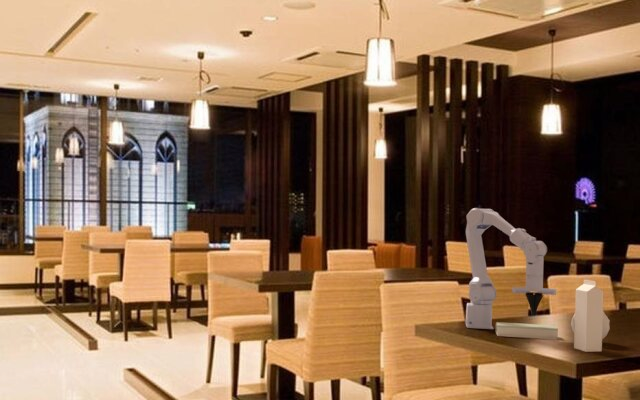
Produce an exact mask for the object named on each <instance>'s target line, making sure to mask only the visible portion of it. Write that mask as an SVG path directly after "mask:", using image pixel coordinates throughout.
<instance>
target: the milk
mask: <svg viewBox="0 0 640 400" xmlns="http://www.w3.org/2000/svg"><path fill="white" fill-rule="evenodd" d="M574 300H575V301H574V302H575V304H574V305H575V307H574V314H575V332H573V334H574V335H573V336H574V337H573V338H574V339H573V349H574V350H575V349H576V350H579V351H582V352H586V353H588V352H591V353H593V352H602V350H603V339H602V323H603V311H604V291H603V290H602V289H601V288H599V287H598V286H597V282H596V281H595V280H591V279H590V280H589V279H583V284H581V285H580V286H578V287H577V288H576V289H575V298H574Z"/></svg>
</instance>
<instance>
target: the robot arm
mask: <svg viewBox="0 0 640 400" xmlns="http://www.w3.org/2000/svg"><path fill="white" fill-rule="evenodd" d="M465 217H466V227H465V236H466V237H465V238H466V243H467V249H468V255H469V261H470V268H471V274H472V278H471V280H470V281H469V283H468V285H469V286H468V287H469V289H468V297H469V300H470V301H471V302H467V303H466V311H465V321H464V322H465V326H466V328H467V329H480V330H481V329H482V330H494V326H493V325H492V321H493V320H492V319H493V304H494V301H495V300H496V297H497V295H498V294H497V290H496V288H495V286H494V282H493V280H492V279H491V277H489V274H488V271H487V263H486V257H485V251H484V244H483V237H482V235H483V233H484V232H485V231H486V230H487V229H489V228H490V227H491V226H494V228H497V229H498V230H500V231H502V233H504V234H505V235H507V236H508V237H509V241H510V242H511V243H512V244H514V245H515V246H516V247H518V248H519V249H521V250H522V252H523V255H524V256H525V261H526V263H525V287H523V286H521V287H520V286H518V287H517V286H513V287H511V288H512V289H511V290H512V294H525V295H524V296H525V297H526V300H527V303H528V305H529V309H530V314H531V315H532V316H536V315H537V311H538V308H539V305H540V303H541V301H542V299H543V298H544V295H552V296H556V295H557V289H556V288H546V287H545V288H544V260H545V259H544V257H545V256H546V254H547V252H548V247H547V245H546V243H544V241H542V240H537V237H534V236H532V235H530V234H529V233H527V230H526V229H524V228H520V227H518V228H515V227H514V226H513V225H512V224H511V223H509V222H508V221H507V220H505V219H504V218H503V217H502V216H501V215H500V214H499V212H497V211H494V210H493V209H491V208H479V207H474V208H471V209H470V210H469V212H468V213H467V214H466V216H465Z"/></svg>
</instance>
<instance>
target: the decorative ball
mask: <svg viewBox="0 0 640 400" xmlns="http://www.w3.org/2000/svg"><path fill="white" fill-rule="evenodd" d="M610 322H611V321H610V319H609V318H608V316H607V315H606V314H605V311H604V310H603V323H602V340H603V339H605V337H606V336H607V335H608V333H609V331H610ZM570 324H571V329H572V332H573V333H574V332H575V313H574V314H573V316H572V318H571V322H570Z"/></svg>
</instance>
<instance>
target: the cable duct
mask: <svg viewBox="0 0 640 400" xmlns="http://www.w3.org/2000/svg"><path fill="white" fill-rule="evenodd" d="M558 332H559V330H558V331H556V330H539V329H521V328H503V327H497V325H496V324H495V335H497V336H498V337H508V338H509V337H510V338H525V339H526V338H529V339H545V340H546V339H547V340H558V337H559V333H558Z"/></svg>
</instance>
